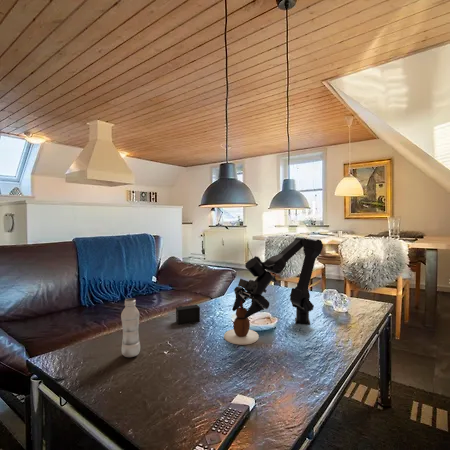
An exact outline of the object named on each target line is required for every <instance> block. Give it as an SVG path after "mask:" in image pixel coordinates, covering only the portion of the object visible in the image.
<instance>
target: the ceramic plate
mask: <svg viewBox="0 0 450 450" xmlns="http://www.w3.org/2000/svg"><path fill="white" fill-rule="evenodd" d="M259 336H260V335H259V334H258V332H256V331H255V330H252V329H249V331H248V334H247V335H246V336H244V337H239V336H237V335H236V334H235V331H234V328H232V329H229V330H227V331H226V332H225V333H224V335H223V338H224V340H225V341H226V342H227V343H230V344H233V345H240V346H245V345H251V344H254V343H257V342H258V340H259Z"/></svg>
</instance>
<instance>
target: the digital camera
mask: <svg viewBox="0 0 450 450" xmlns="http://www.w3.org/2000/svg"><path fill="white" fill-rule="evenodd" d="M200 321H201V307H200V305H198V304H192V305H191V304H190V305H184V306H183V305H180V306H176V307H175V322H176V324H177V325H178V326H180V325H185V324H187V325H188V324H192V323H200Z"/></svg>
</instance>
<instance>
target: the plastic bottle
mask: <svg viewBox="0 0 450 450" xmlns="http://www.w3.org/2000/svg"><path fill="white" fill-rule="evenodd" d="M136 303H137V302H136V298H125V299H124V306H125V307H124V308H123V310H122V311H121V315H120V319H121V325H122V343H121V354H122V355H123V357H125V358H133V357H136V356H138V355H139V354H140V351H141V342H140V336H139V322H140V312H139V311H140V310H138V308H137V307H136V305H137V304H136Z"/></svg>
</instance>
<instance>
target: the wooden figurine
mask: <svg viewBox="0 0 450 450" xmlns="http://www.w3.org/2000/svg"><path fill="white" fill-rule="evenodd" d="M247 311H248V309H247V308H246V307H244V304H243V303H242V300H241V301H240V307H239V308H237V310H235V316H236V317H235V319H234V320H233V328H232V329H234V331H235V334H236V335H237V336H239V337H244V336H246V335H247V334H248V331H249V330H250V318H249V317H248V318H245V317H244V316H245V314H246V312H247Z"/></svg>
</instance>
